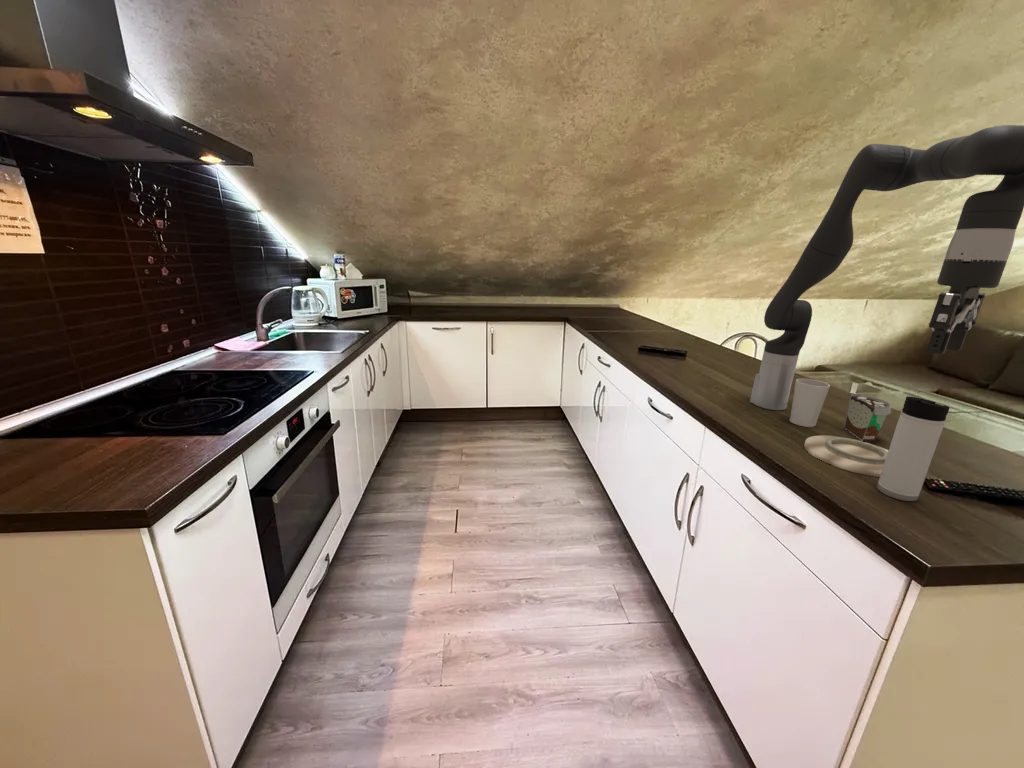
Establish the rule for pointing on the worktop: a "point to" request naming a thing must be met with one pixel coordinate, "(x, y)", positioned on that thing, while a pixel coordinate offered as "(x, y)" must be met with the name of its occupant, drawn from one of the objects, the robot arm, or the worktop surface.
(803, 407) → the cup
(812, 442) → the round plate
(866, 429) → the food container
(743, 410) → the worktop surface
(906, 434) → the travel mug
